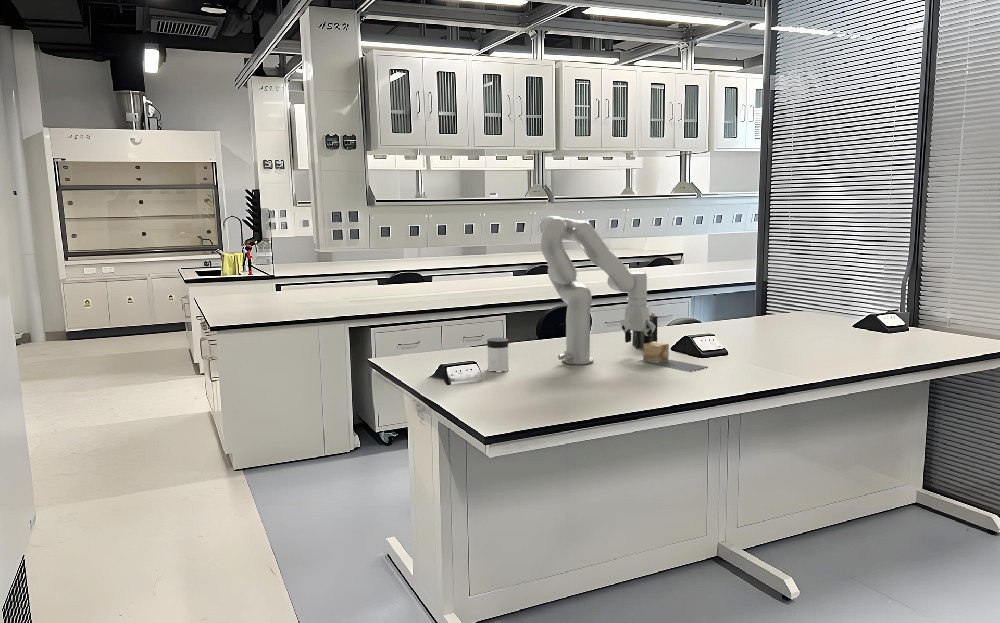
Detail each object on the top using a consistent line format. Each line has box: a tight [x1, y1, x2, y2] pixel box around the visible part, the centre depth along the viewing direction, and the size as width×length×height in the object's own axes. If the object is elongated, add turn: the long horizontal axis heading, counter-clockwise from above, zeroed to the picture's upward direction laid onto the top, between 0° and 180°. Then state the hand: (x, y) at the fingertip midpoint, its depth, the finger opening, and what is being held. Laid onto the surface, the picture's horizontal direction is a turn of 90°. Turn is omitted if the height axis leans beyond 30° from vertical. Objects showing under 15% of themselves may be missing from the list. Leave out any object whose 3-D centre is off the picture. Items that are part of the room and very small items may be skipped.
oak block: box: [642, 341, 670, 364], centre depth 279 cm, size 7×7×7 cm
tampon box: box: [631, 312, 658, 350], centre depth 308 cm, size 11×9×15 cm
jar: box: [486, 337, 509, 372], centre depth 268 cm, size 9×8×12 cm
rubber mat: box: [636, 358, 709, 373], centre depth 274 cm, size 12×25×1 cm, turn 40°
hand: (637, 343), depth 286 cm, fingers open, 9 cm apart
